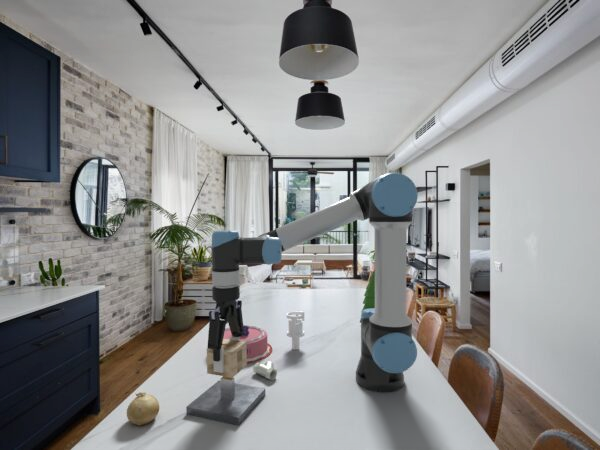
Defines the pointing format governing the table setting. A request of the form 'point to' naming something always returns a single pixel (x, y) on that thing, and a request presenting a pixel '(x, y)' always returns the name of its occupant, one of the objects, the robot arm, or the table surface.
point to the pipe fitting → (265, 370)
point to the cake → (253, 342)
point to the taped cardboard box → (229, 358)
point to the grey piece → (226, 401)
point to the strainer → (295, 328)
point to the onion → (142, 409)
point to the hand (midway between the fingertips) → (227, 365)
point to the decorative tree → (370, 294)
